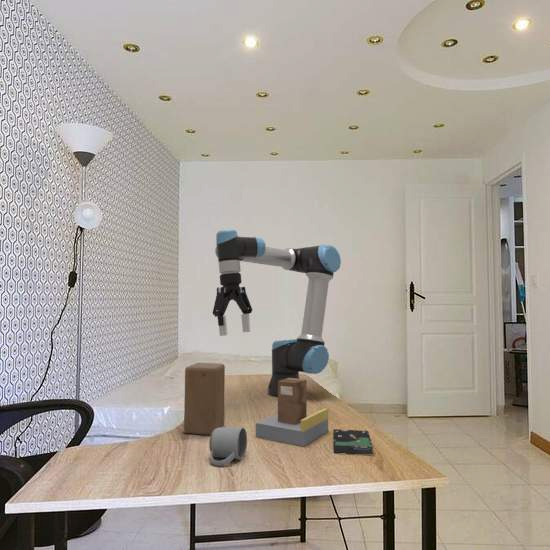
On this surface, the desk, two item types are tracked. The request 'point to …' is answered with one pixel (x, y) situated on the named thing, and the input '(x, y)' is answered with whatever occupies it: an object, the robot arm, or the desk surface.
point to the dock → (294, 429)
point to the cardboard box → (292, 400)
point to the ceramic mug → (227, 444)
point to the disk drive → (352, 442)
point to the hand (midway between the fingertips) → (235, 333)
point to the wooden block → (204, 398)
